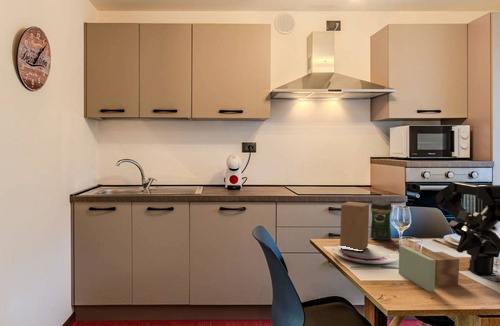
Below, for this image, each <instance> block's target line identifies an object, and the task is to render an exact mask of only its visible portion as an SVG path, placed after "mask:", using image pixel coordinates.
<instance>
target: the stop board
mask: <svg viewBox="0 0 500 326" xmlns="http://www.w3.org/2000/svg"><path fill="white" fill-rule="evenodd" d="M398 250H399V251H398V253H399V254H398V255H399V256H398V274H399V275H401V276H403V277H404V278H406V279H407V280H409V281H411V282H412V283H414V284H416V285H417V286H419V287H420V288H422V289H424V290H425V291H426V292H435V286H436V285H435V263H436V260H435V259H433V258H430V257H428V256H426V255H424V254H422V253H423V252H419V251H417V250H415V249H413V248H411V247H409V246H407V245H402V244H401V245H399V248H398Z"/></svg>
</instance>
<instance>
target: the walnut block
mask: <svg viewBox="0 0 500 326" xmlns="http://www.w3.org/2000/svg"><path fill="white" fill-rule="evenodd" d="M421 253H422V254H424V255H426V256H428V257H430V258H433V259H435V260H436V263H435V286H449V285H459V276H460V273H459V271H460V258H458V257H456V256H453V255H451V254H449V253H446V252H443V251H433V252H432V251H431V252H429V251H428V252H421Z"/></svg>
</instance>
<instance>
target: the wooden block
mask: <svg viewBox="0 0 500 326" xmlns="http://www.w3.org/2000/svg"><path fill="white" fill-rule="evenodd" d="M340 206H341V207H340V233H339V234H340V235H339V237H340V238H339V247H340V246H346V247H350V248H353V249H358V250H364V249H365V248H366V247H367V246H369V223H370V219H369V218H370V204H369V203H367V202H366V203H365V202H359V201H358V202H357V201H346V202H344V203H343V204H341V205H340ZM367 248H368V247H367ZM367 248H366V249H367ZM366 249H365V250H366ZM365 250H364V251H365Z"/></svg>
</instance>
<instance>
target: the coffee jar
mask: <svg viewBox="0 0 500 326" xmlns="http://www.w3.org/2000/svg"><path fill="white" fill-rule="evenodd" d="M370 211H371V223H370V230H369V231H370V232H369V233H370V234H369V237H370V238H371V239H372V240H377V241H390V240H391V238H392V230H391V215H392V214H391V213H392V211H393V209H392V203H391V202H390V201H383V200H372V202H371V204H370Z"/></svg>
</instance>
